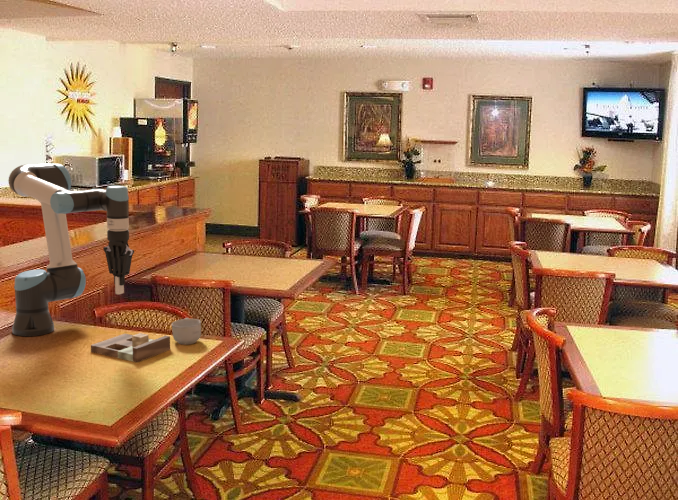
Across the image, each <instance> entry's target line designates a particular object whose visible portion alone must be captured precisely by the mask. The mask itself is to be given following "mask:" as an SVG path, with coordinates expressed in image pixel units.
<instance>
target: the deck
mask: <svg viewBox="0 0 678 500" xmlns="http://www.w3.org/2000/svg"><path fill="white" fill-rule="evenodd" d="M133 335H134V334H129V333H122V334H119V335H117V336H114V337H110V338H108V339H105V340H102V341H99V342H96V343H92V344H90V352H91V353H94V354H99V355H103V356H107V357H112V358H114V359H115V358H117V359H120V360H124V361H125V360H126V361H129V362H133V363H140V362H142V361H145V360H148V359H150V358H152V357H155V356H157V355H160V354H162V353H163V354H164V353H165V352H167V351H170V350H171V336H170V335H163V336H161V337H158V338H156V339H152V338H149V342H147V343H144V344H141V345H139V346H136V347H132V336H133Z"/></svg>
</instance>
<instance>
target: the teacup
mask: <svg viewBox="0 0 678 500" xmlns="http://www.w3.org/2000/svg"><path fill="white" fill-rule="evenodd" d="M201 326H202V322H201V320H200V319H199V318H189V317H185V318H181V319H177V320H175V321H173V322H172V323H171V328H172V330H171V331H172V337H173V340H174V341H175V342H177V344H179V345H184V346H185V345H186V346H187V345H192V344H195V343H197V342H198V341H199V339H200V338H201V336H202V327H201Z"/></svg>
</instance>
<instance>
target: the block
mask: <svg viewBox="0 0 678 500" xmlns="http://www.w3.org/2000/svg"><path fill="white" fill-rule="evenodd" d="M132 335H133V336H132V347H136V346H139V345H141V344H144V343H147V342H149V339H150V337H149V334H146V333H143V332H139V333H136V334H132Z"/></svg>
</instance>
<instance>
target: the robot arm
mask: <svg viewBox="0 0 678 500" xmlns="http://www.w3.org/2000/svg"><path fill="white" fill-rule="evenodd" d="M7 181H8V186H9V188H10V189H11V191H13V193H15V194H16V195H19V196H21V197H31V198H33V199H35V200H36V201H38V202H39V203H40V206H41V212H42V219H43V227H44V231H45V238H46V246H47V253H48V259H49V263H48V265H47V266H46V270H45V269H40V268H39V269H30V270H25V271H23V272H20V273H18V274H17V275H16V276H15V278H14V286H13V289H14V297H15V317H14V320H13V324H12V327H11V329H12V334H13V335H14V336H19V337H37V336H43V335H46V334H50V333H53V331H55V323H54V320H53V318H52V316H51V313H50V311H49V303H51V302H57V301H63V300H68V299H69V300H71V299H73V298H78V297H79V296H81V295H83V293H84V291H85V288H86V283H87V278H86V274H85V273H84V270H83V268H81V267H79V266H78V263H77V262H76V261H74V259H73V255H72V254H73V253H72V248H71V247H72V246H71V239H70V234H69V228H68V226H69V225H68V220H67V214H72V213H73V214H74V213H82V212H83V213H85V212H94V211H96V212H97V211H103V212H104V211H105V212H106V228H107V231H106V233H107V234H106V236H107V241H108V243H107V246H103V251H104V254H105V258H106V263H107V268H108V273H109V274H112V276H113V283H114V286H115V287H114V290H115V292H114V293H115V295H122V294H125V286H124V285H125V282H126V279H125V278H126V276H129V275H130V273H131V272H130V271H131V265H132V260H133V255H134V254H135V250H134V249H131V248H130V245H129V240H130V230H129V228H130V221H129V220H130V219H129V211H130V210H129V209H130V208H129V207H130V206H129V205H130V204H129V203H130V202H129V199H130V198H129V189H128V187H126V186H125V185H108V186H107V187H106V189H103V188H100V187H98V188H91V189H89V190H87V189H86V190H74V191H73V190H71V188H72V177H71V174H70V172H69V170H68V169H67V168H66V167H65V165H63V164H61V163H53V162H49V163H37V164H28V163H26V164H21V165H19V166H17V167H15V168H14V169H13V170H12V171H11V172H10V173H9V176H8V180H7Z"/></svg>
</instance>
